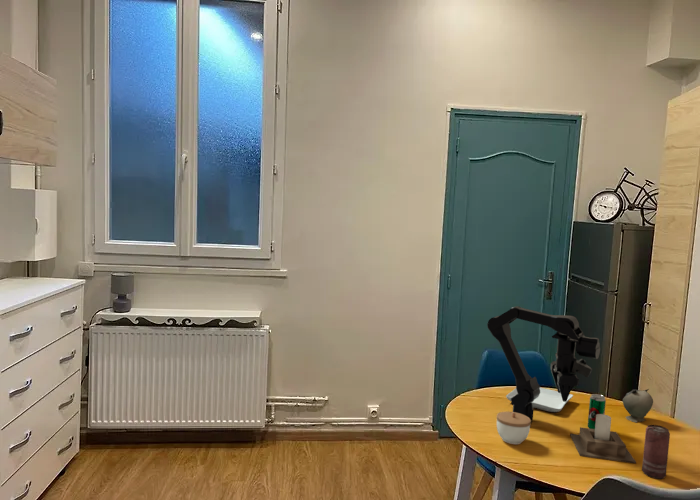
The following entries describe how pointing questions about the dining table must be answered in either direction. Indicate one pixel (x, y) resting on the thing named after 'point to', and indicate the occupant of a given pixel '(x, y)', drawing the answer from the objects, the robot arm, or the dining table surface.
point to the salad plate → (545, 400)
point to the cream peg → (602, 427)
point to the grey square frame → (601, 446)
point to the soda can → (595, 409)
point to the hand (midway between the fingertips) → (562, 397)
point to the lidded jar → (513, 427)
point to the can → (656, 451)
